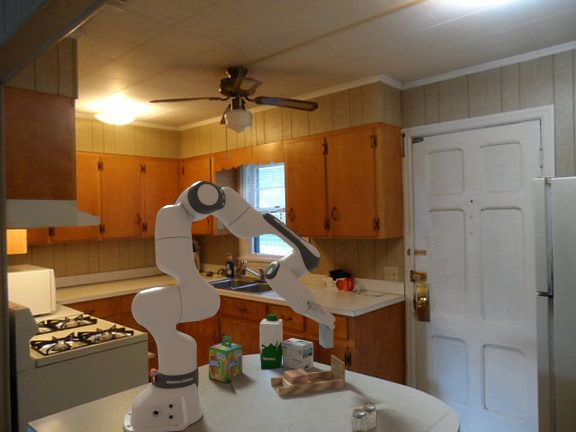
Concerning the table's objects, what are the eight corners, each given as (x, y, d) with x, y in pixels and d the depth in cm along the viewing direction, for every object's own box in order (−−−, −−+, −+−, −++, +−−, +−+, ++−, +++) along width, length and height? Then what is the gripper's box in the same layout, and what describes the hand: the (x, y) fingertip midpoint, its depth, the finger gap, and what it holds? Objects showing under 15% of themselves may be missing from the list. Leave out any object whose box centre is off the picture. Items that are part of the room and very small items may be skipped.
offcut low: (288, 393, 143) (288, 385, 143) (282, 385, 150) (282, 378, 150) (311, 389, 146) (311, 382, 146) (304, 382, 152) (304, 375, 152)
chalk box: (208, 378, 160) (207, 338, 160) (225, 371, 168) (224, 332, 168) (226, 383, 155) (226, 342, 155) (243, 375, 163) (243, 336, 163)
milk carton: (284, 363, 176) (283, 313, 176) (280, 371, 167) (279, 319, 167) (263, 362, 177) (262, 313, 177) (258, 370, 168) (257, 318, 168)
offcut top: (291, 384, 144) (291, 377, 144) (284, 378, 150) (283, 371, 150) (308, 381, 147) (308, 374, 147) (300, 375, 152) (300, 368, 152)
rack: (279, 400, 141) (279, 371, 141) (270, 388, 150) (270, 361, 150) (345, 390, 148) (344, 363, 148) (333, 379, 158) (332, 354, 158)
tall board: (325, 348, 148) (324, 316, 148) (319, 343, 153) (318, 312, 153) (333, 347, 149) (333, 315, 149) (327, 343, 154) (326, 312, 154)
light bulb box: (314, 369, 168) (313, 341, 168) (303, 374, 163) (303, 346, 163) (293, 363, 175) (292, 337, 175) (281, 368, 170) (281, 340, 170)
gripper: (322, 298, 139) (349, 325, 143) (295, 288, 157) (319, 313, 161) (310, 313, 137) (337, 340, 141) (283, 302, 155) (308, 326, 159)
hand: (327, 325), depth 151 cm, fingers closed on tall board, 6 cm apart
